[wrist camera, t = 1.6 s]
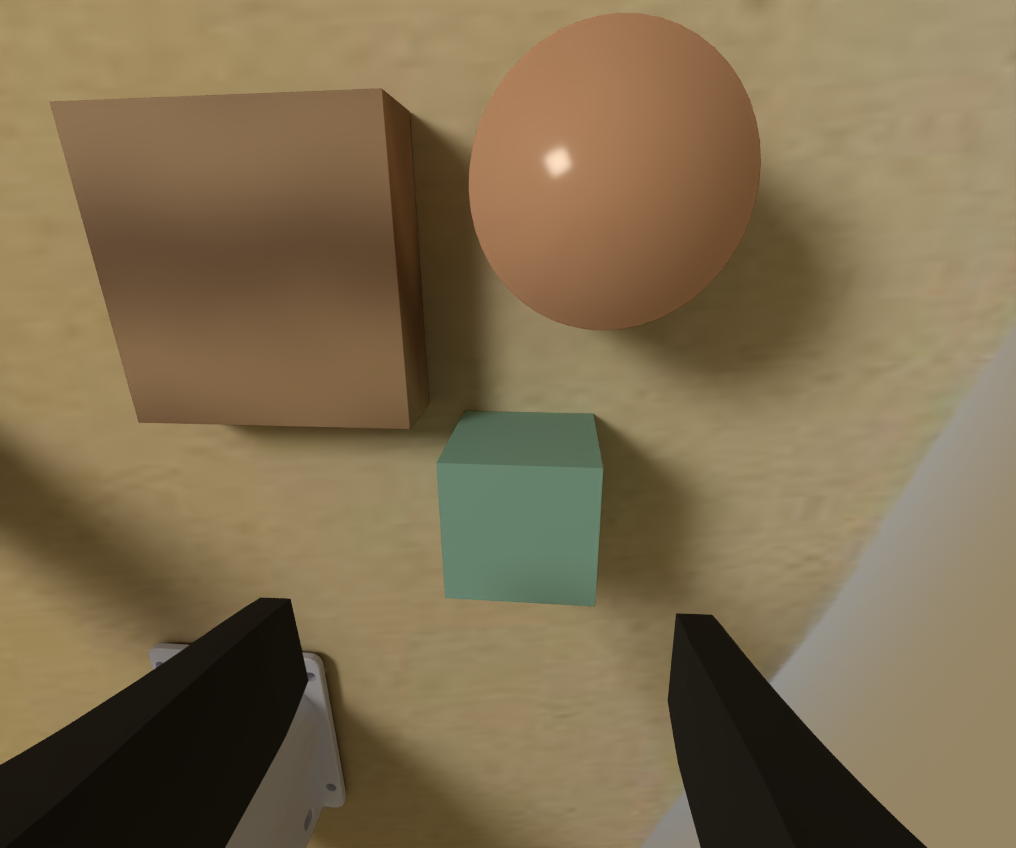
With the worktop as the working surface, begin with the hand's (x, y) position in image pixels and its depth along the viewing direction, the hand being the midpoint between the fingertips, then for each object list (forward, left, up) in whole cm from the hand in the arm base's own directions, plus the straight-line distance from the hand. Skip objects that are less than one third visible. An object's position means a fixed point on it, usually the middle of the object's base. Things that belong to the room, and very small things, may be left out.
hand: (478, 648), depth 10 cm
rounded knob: (+8, -2, -10) cm, 13 cm away
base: (+6, +8, -9) cm, 14 cm away
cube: (-1, 0, -10) cm, 10 cm away
